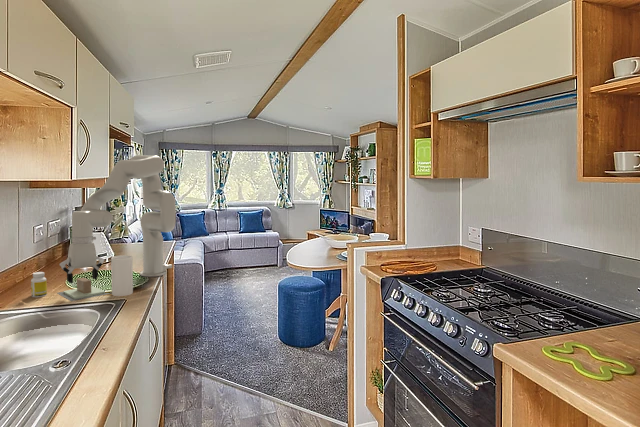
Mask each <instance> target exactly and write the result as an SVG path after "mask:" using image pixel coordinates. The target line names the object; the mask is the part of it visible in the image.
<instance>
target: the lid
mask: <svg viewBox="0 0 640 427" xmlns="http://www.w3.org/2000/svg"><path fill="white" fill-rule="evenodd" d="M94 286H95V285H92V280H90V279H88V278H86V277H79V278H76V288H73V289H69V290H68V289H66V290H63V291H62V292H63V293H64V294H66V295H68V296H70V297H72V298H74V299H78V298H83V297H88V296H93V295H99V294H104V293H105V291H103V290H101V289H102V288H101V289H99V288H100V287H99V288H96V287H94Z"/></svg>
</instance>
